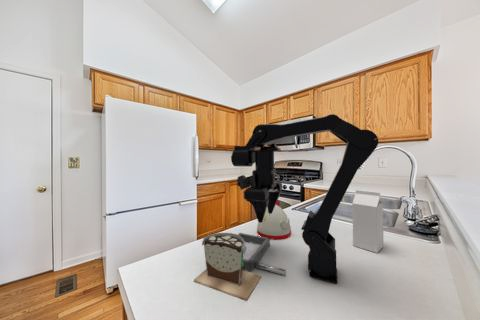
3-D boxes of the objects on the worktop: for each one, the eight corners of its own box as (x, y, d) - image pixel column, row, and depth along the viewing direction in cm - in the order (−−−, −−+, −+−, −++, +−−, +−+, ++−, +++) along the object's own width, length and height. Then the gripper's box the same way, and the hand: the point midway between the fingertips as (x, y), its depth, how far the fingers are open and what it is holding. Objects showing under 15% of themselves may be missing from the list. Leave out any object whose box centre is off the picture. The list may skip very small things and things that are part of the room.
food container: (254, 273, 50) (253, 235, 50) (244, 287, 44) (244, 246, 44) (215, 262, 55) (214, 229, 55) (202, 274, 49) (201, 237, 49)
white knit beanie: (250, 232, 78) (249, 197, 78) (270, 224, 87) (270, 192, 87) (277, 243, 68) (276, 202, 68) (297, 232, 77) (297, 196, 77)
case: (269, 245, 66) (269, 238, 66) (250, 272, 51) (249, 263, 51) (240, 239, 72) (239, 232, 72) (213, 261, 56) (213, 253, 56)
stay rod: (286, 273, 50) (285, 268, 50) (284, 276, 49) (284, 271, 49) (251, 264, 55) (251, 259, 54) (250, 267, 53) (249, 262, 53)
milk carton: (377, 253, 59) (376, 194, 59) (352, 245, 65) (352, 191, 65) (383, 246, 64) (382, 191, 64) (360, 239, 69) (359, 189, 69)
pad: (261, 277, 49) (261, 275, 49) (246, 300, 41) (246, 298, 41) (214, 263, 56) (214, 262, 56) (193, 281, 48) (193, 279, 48)
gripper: (252, 165, 69) (253, 207, 69) (226, 168, 52) (227, 223, 52) (282, 165, 64) (283, 210, 64) (263, 168, 47) (264, 229, 47)
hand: (265, 217), depth 57 cm, fingers open, 9 cm apart
